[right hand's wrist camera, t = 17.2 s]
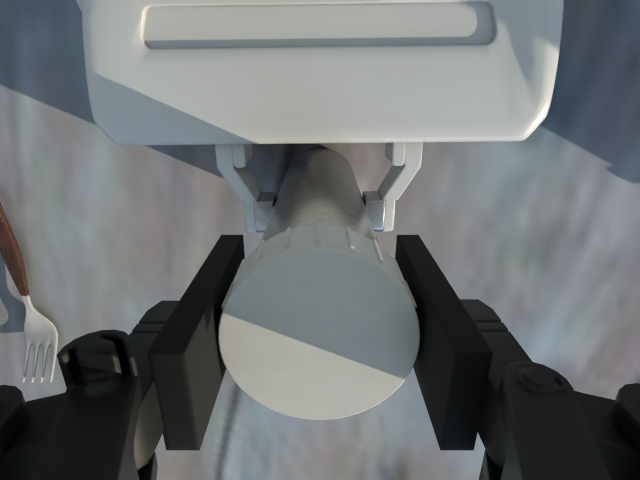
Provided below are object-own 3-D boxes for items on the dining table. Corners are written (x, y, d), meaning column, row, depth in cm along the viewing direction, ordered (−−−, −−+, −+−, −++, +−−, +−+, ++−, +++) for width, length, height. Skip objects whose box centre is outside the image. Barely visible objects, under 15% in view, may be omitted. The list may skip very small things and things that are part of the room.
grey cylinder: (318, 229, 28) (316, 418, 12) (270, 181, 27) (200, 325, 11) (368, 184, 27) (437, 331, 11) (321, 132, 25) (322, 215, 10)
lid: (433, 336, 13) (452, 379, 11) (285, 396, 14) (280, 445, 12) (361, 189, 11) (369, 211, 9) (196, 271, 12) (174, 306, 10)
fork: (10, 171, 26) (-13, 178, 24) (69, 365, 32) (53, 383, 30) (-29, 171, 26) (-56, 178, 24) (36, 365, 32) (19, 383, 30)
